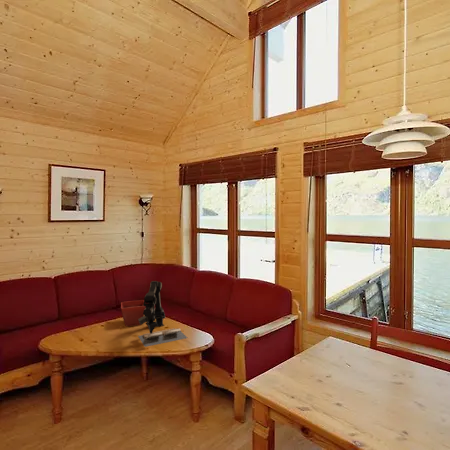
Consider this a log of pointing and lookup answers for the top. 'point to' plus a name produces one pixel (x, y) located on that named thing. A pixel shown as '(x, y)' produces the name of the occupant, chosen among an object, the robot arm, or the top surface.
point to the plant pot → (132, 312)
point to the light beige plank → (153, 335)
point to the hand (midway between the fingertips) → (150, 333)
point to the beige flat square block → (172, 332)
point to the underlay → (162, 339)
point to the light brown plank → (157, 332)
